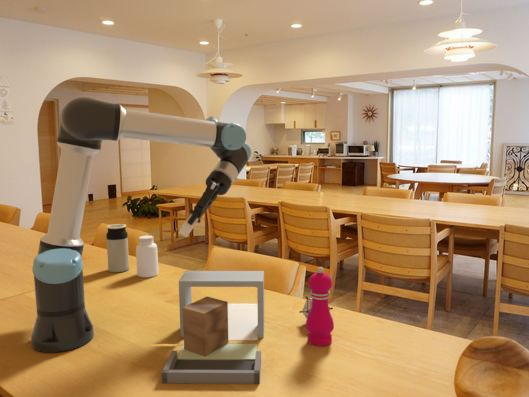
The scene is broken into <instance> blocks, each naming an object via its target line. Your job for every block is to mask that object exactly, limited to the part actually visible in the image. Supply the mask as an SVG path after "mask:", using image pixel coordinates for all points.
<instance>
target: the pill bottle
mask: <svg viewBox="0 0 529 397" xmlns="http://www.w3.org/2000/svg"><path fill="white" fill-rule="evenodd" d="M135 258H136V272H137V273H136V275H137V276H138V278H139V277H140V278H142V279H143V278H146V279H148V278H153V277H157V276H158V274H159V259H158V258H159V257H158V245H157V244H156V243H155V242H154V236H152V235H142V236H139V237H138V244H137V245H136V246H135Z"/></svg>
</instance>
